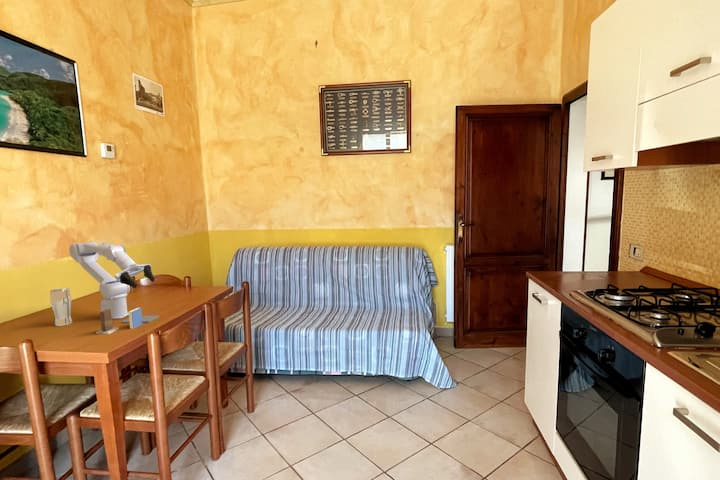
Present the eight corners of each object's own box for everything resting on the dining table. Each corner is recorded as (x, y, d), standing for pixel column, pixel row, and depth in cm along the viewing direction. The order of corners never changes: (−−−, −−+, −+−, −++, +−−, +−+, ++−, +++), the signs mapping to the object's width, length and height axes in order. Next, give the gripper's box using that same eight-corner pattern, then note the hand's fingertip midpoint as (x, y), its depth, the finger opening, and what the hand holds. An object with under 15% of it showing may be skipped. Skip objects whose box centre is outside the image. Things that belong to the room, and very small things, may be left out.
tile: (130, 328, 154) (128, 312, 153) (139, 323, 160) (137, 307, 159) (133, 328, 154) (132, 311, 153) (142, 323, 160) (140, 307, 159)
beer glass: (51, 327, 158) (47, 292, 157) (55, 322, 164) (51, 289, 163) (72, 324, 162) (67, 290, 160) (75, 320, 168) (71, 287, 166)
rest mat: (121, 323, 161) (121, 321, 161) (133, 317, 169) (132, 316, 169) (149, 322, 161) (148, 321, 161) (159, 316, 169) (159, 315, 169)
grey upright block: (96, 334, 148) (93, 313, 147) (106, 329, 154) (104, 308, 153) (108, 334, 148) (106, 313, 147) (118, 329, 154) (116, 308, 153)
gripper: (109, 262, 156) (127, 282, 152) (144, 252, 168) (162, 270, 164) (108, 275, 160) (126, 294, 155) (142, 264, 171) (160, 282, 167)
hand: (144, 283), depth 160 cm, fingers open, 7 cm apart
